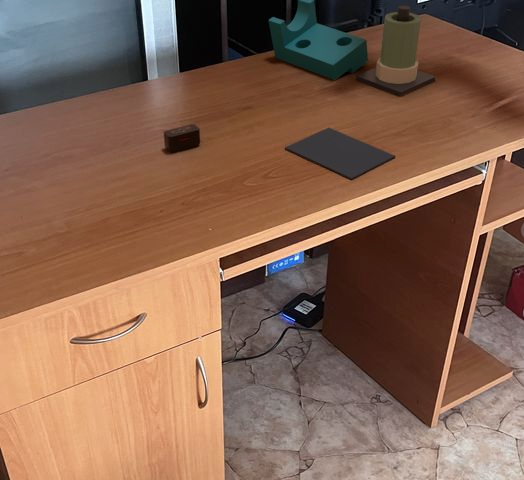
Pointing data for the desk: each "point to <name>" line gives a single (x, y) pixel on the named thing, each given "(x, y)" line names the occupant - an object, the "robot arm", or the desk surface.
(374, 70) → the stack stand
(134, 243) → the desk surface
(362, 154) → the mat
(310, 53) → the teal l-shaped bracket
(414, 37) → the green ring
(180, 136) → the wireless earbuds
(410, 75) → the cream ring
